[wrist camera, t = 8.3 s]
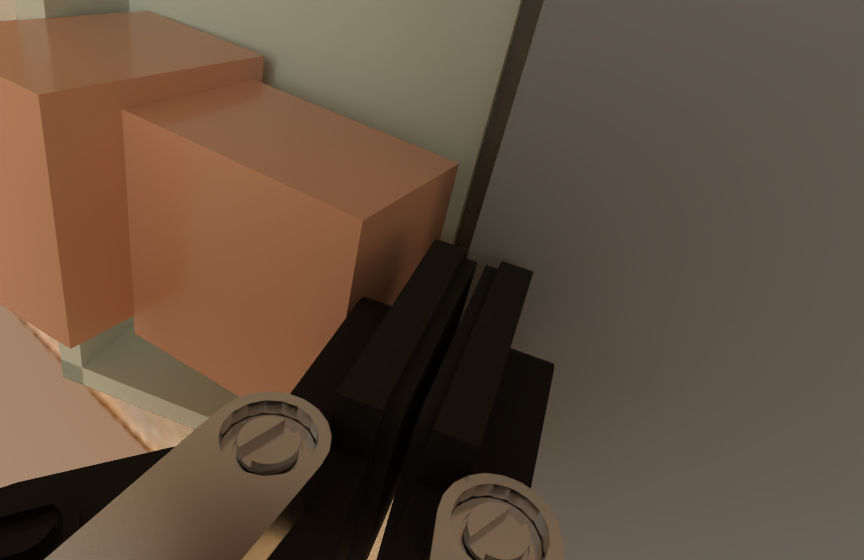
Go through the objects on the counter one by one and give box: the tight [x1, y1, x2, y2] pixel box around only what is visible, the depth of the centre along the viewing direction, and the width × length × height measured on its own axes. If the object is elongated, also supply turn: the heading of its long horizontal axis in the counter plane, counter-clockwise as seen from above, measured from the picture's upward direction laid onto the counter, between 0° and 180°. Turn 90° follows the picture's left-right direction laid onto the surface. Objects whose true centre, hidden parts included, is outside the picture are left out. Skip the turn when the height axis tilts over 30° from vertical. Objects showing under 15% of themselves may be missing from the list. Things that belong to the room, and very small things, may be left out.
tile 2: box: [122, 80, 459, 397], centre depth 11 cm, size 4×4×3 cm
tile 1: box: [0, 11, 264, 349], centre depth 12 cm, size 4×4×3 cm
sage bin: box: [15, 0, 524, 429], centre depth 13 cm, size 8×13×3 cm, turn 166°
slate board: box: [459, 0, 864, 560], centre depth 12 cm, size 11×13×3 cm
